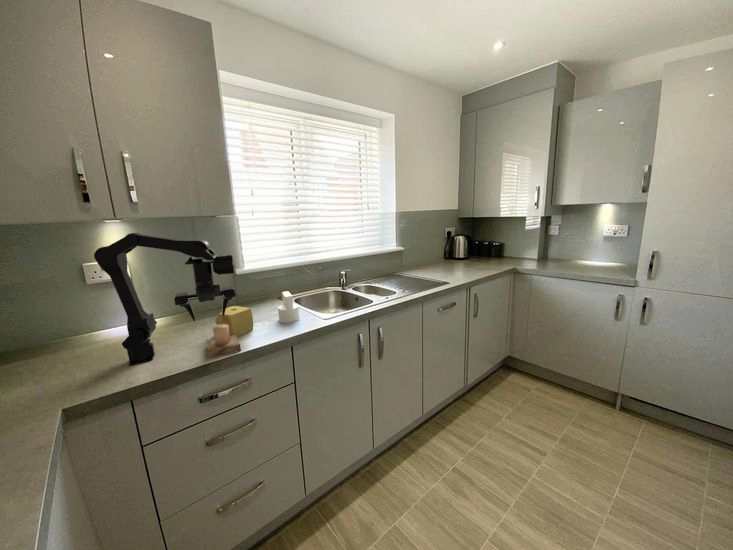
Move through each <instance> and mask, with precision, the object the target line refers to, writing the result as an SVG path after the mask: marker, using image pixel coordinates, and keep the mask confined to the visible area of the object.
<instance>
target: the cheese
mask: <svg viewBox="0 0 733 550" xmlns="http://www.w3.org/2000/svg"><path fill="white" fill-rule="evenodd" d="M253 316H254V315H253V312H252V309H251V308H250V307H246V306H238V305H233V306H228V307H226V310H225V314H224V316H223V315H222V309H221V310H220V313H218V315H217V316H216V317H215V318H214V323H215V324H216V326H217V325H220V324H227V325H228V328H229V335H230V336H232V335H236V336H237V338H238V337H241V336H243V335H245V334H246V333H249V332H250V331H253V330H254V319H253V318H254V317H253Z"/></svg>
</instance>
